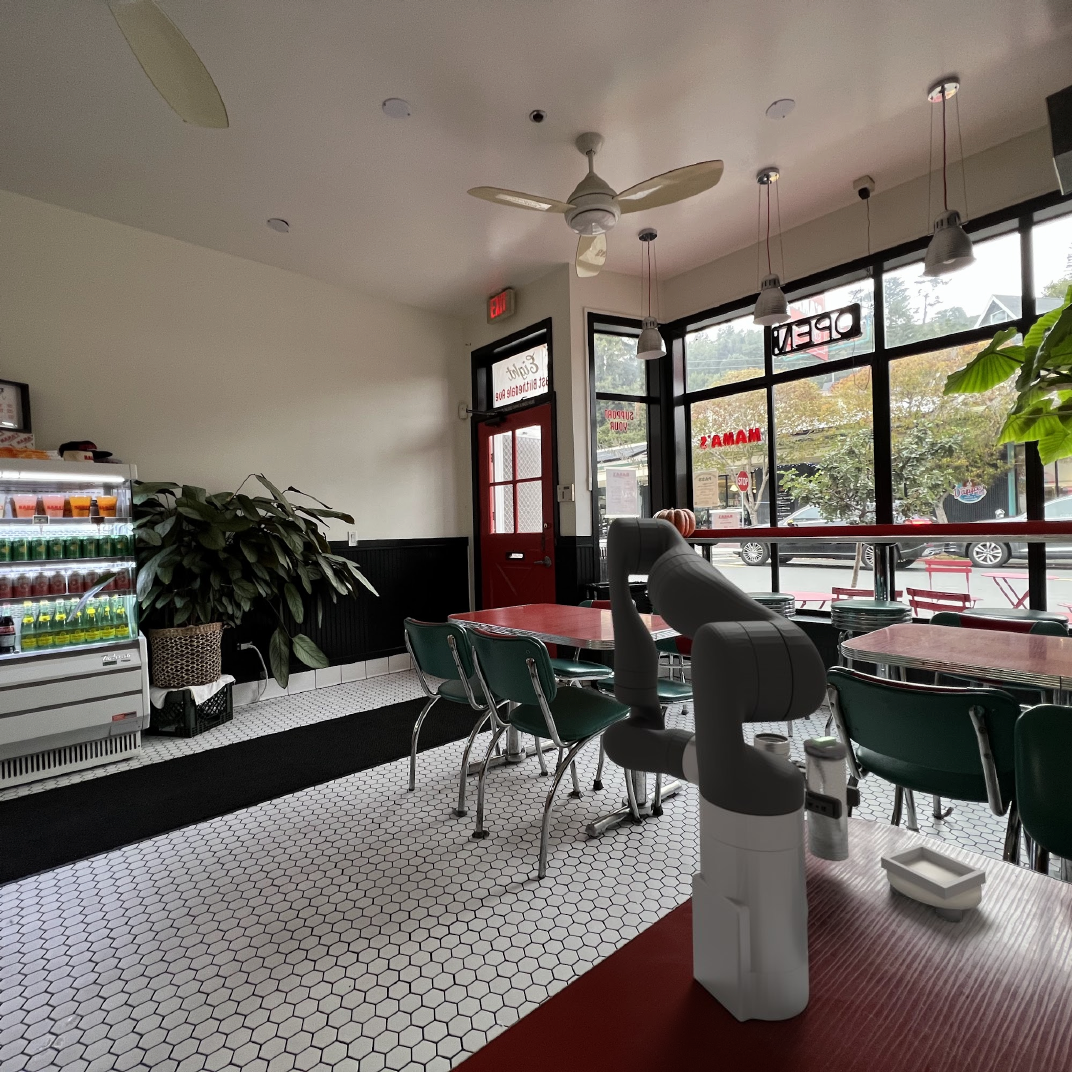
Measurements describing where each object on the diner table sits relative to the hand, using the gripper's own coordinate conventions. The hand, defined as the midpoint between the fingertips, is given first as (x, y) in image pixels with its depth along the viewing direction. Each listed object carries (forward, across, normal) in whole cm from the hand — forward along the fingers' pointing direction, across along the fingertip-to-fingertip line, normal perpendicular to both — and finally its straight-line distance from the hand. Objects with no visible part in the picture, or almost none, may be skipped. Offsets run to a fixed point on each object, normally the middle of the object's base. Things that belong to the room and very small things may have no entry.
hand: (849, 803), depth 71 cm
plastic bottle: (-2, -15, +10) cm, 18 cm away
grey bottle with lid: (-3, 0, +7) cm, 7 cm away
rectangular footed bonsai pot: (+7, +4, +9) cm, 12 cm away
